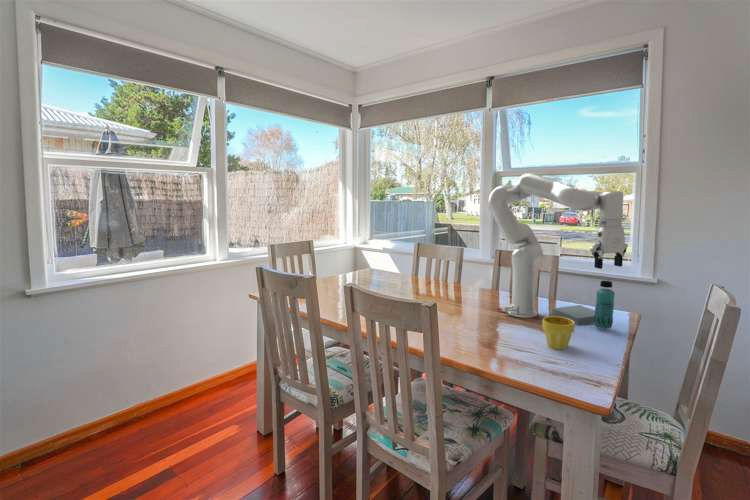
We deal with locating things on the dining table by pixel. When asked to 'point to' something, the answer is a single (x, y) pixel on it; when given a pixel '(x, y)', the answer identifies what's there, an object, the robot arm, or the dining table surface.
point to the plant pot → (558, 331)
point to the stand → (576, 314)
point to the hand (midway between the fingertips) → (608, 267)
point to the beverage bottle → (604, 306)
